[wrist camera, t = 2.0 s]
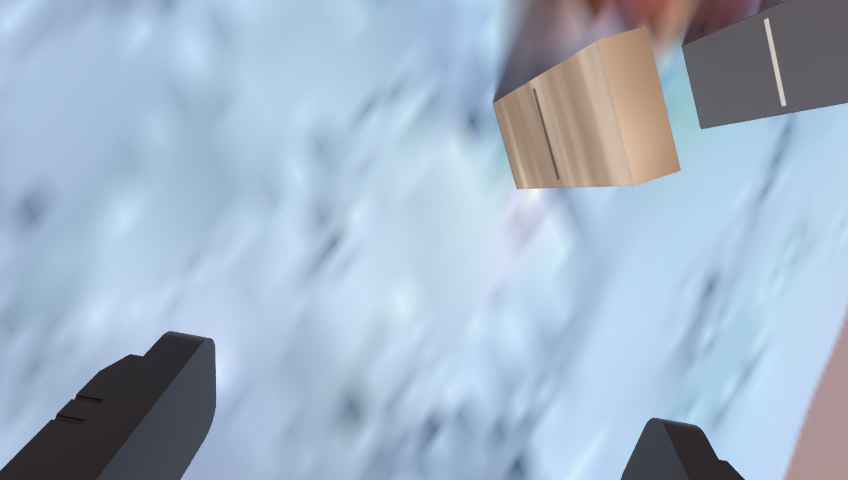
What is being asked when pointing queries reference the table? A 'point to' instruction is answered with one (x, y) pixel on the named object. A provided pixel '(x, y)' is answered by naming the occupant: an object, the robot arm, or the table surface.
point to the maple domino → (591, 119)
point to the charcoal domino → (771, 63)
